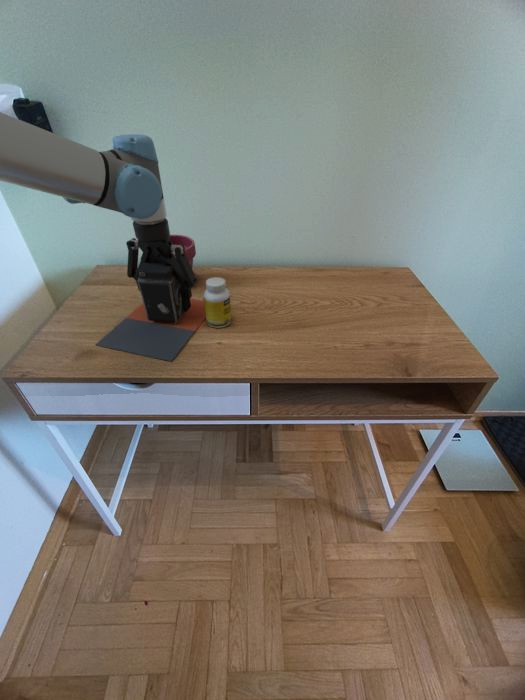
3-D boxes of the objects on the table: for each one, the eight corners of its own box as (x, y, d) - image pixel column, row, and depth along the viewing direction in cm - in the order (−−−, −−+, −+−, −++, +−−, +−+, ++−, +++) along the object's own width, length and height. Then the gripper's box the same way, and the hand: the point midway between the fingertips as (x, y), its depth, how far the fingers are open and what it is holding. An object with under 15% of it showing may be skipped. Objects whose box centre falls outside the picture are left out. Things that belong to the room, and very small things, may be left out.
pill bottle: (222, 331, 80) (219, 290, 73) (201, 324, 83) (196, 284, 75) (236, 318, 85) (234, 279, 78) (215, 312, 87) (211, 273, 80)
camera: (193, 305, 89) (185, 253, 80) (182, 326, 81) (172, 271, 72) (157, 302, 90) (145, 251, 81) (143, 323, 82) (128, 269, 73)
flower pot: (177, 298, 93) (169, 256, 84) (143, 286, 98) (133, 245, 90) (208, 279, 102) (204, 240, 94) (175, 269, 108) (169, 231, 100)
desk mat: (95, 345, 75) (95, 344, 75) (154, 293, 95) (154, 292, 95) (171, 362, 71) (171, 361, 71) (216, 304, 91) (216, 303, 90)
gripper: (205, 219, 70) (214, 305, 84) (115, 209, 75) (137, 292, 89) (190, 230, 65) (202, 320, 79) (93, 219, 70) (120, 305, 84)
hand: (167, 305), depth 84 cm, fingers closed on camera, 11 cm apart
